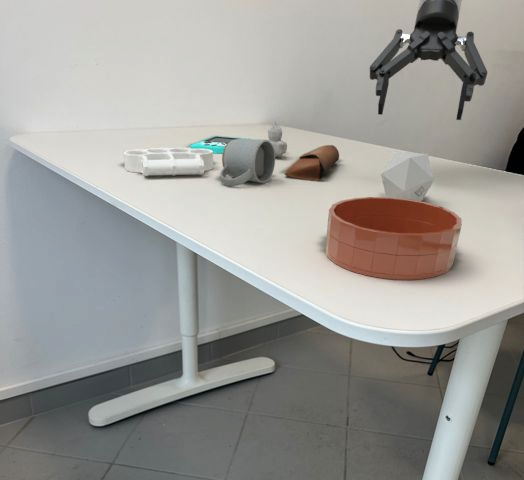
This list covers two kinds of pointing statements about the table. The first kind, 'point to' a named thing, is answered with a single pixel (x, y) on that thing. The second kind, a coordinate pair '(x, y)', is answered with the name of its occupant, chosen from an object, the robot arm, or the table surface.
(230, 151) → the ceramic mug
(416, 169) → the die
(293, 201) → the table surface
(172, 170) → the white compartment tray
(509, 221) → the table surface
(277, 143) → the grey rounded figure
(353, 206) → the bowl
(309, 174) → the sunglasses case
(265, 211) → the table surface
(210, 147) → the handheld game console
